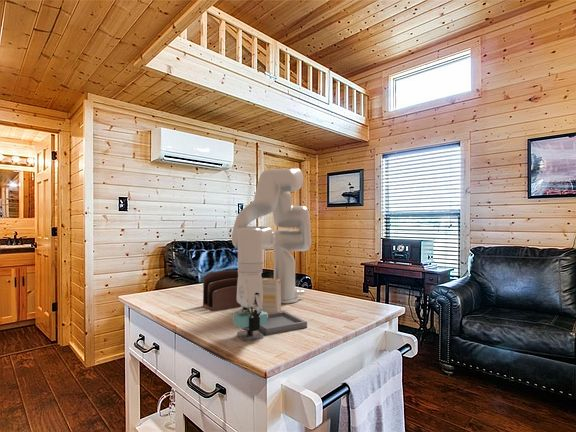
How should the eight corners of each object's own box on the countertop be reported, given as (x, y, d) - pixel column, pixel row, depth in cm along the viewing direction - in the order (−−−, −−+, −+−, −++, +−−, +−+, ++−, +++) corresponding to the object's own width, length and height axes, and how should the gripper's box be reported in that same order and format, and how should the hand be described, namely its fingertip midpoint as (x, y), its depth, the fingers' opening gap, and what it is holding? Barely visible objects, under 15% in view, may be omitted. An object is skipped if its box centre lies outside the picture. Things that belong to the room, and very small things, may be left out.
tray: (285, 316, 122) (285, 311, 122) (307, 327, 109) (307, 321, 109) (247, 322, 115) (247, 316, 115) (266, 334, 102) (266, 328, 102)
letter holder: (202, 306, 137) (202, 272, 138) (244, 299, 149) (244, 268, 150) (212, 311, 129) (212, 275, 130) (255, 304, 141) (256, 271, 142)
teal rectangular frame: (239, 328, 96) (239, 317, 96) (233, 323, 101) (233, 313, 101) (270, 323, 101) (270, 313, 101) (262, 318, 105) (262, 309, 106)
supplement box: (281, 312, 128) (281, 278, 128) (277, 315, 123) (277, 280, 123) (261, 310, 130) (262, 277, 131) (256, 313, 126) (257, 279, 126)
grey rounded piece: (254, 332, 104) (255, 306, 104) (263, 337, 99) (263, 310, 99) (237, 335, 101) (237, 308, 101) (244, 341, 96) (244, 313, 96)
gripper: (228, 265, 106) (228, 322, 106) (249, 272, 91) (249, 338, 91) (250, 264, 110) (250, 318, 110) (274, 270, 95) (274, 333, 95)
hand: (250, 327), depth 100 cm, fingers closed on teal rectangular frame, 5 cm apart
